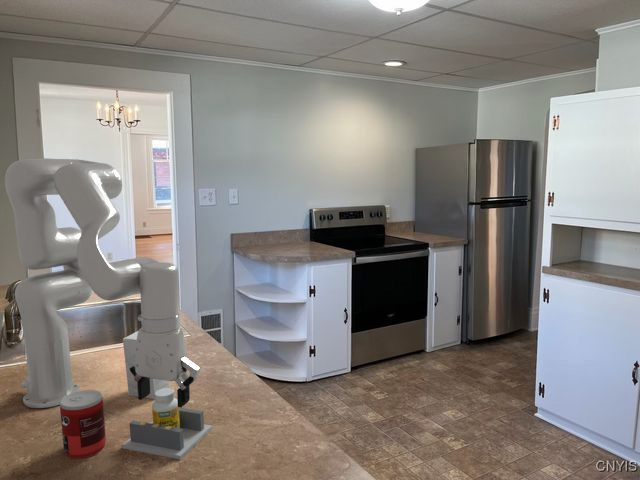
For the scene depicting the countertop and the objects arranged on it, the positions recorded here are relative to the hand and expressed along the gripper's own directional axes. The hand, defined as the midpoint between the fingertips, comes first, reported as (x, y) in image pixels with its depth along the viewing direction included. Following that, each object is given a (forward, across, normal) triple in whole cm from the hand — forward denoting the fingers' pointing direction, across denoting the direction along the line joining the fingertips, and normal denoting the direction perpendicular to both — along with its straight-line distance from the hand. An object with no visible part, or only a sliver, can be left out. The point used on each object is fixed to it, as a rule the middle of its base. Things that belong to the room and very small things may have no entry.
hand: (163, 400), depth 103 cm
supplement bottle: (+8, +1, 0) cm, 8 cm away
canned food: (+9, -13, -8) cm, 18 cm away
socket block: (+8, +1, 0) cm, 8 cm away
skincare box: (+9, -17, +17) cm, 26 cm away
